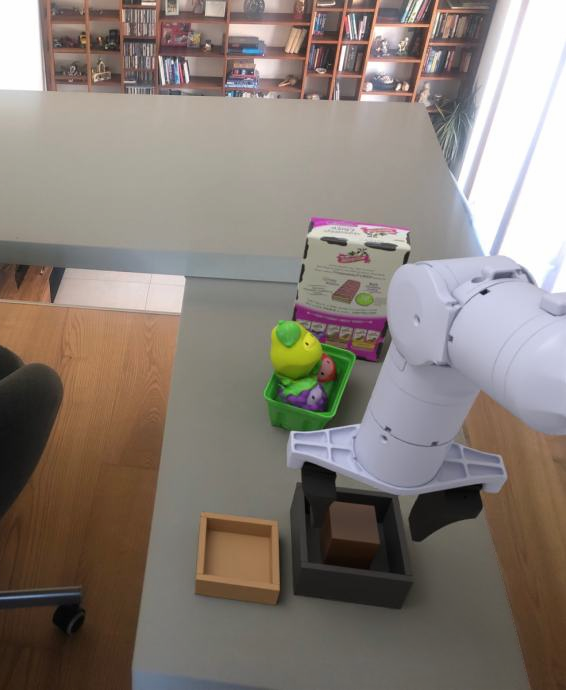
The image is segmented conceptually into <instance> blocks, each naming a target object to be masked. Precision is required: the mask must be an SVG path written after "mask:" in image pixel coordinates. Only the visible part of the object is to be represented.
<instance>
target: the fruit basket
mask: <svg viewBox="0 0 566 690" xmlns="http://www.w3.org/2000/svg"><path fill="white" fill-rule="evenodd" d="M270 341H271V345H270V351H269V355H270V356H269V357H270V362H271V365H272V367H273V369H274V370H273V372H272V374H271V376H270V379H269V380H268V383H267V384H266V387H265V389H264V391H263V397H264V400H265V403H266V405H267V409H268V414H269V419H270V424H271V425H273V426H277V427H281V428H283V429H285V430H287V431H290V432H291V431H300V432H309V431H318V430H324V428H325V427H326V425H327V424H328V422H329V421H331V420H332V419H334V417H335V416H336V413H337V411H338V407H339V404H340V402H341V399H342V396H343V394H344V391H345V388H346V385H347V383H348V381H349V378H350V375H351V372H352V369H353V367H354V365H355V362H356V359H357V358H356V356H355V354H354V353H352V352H350V351H348V350H344V349H341V348H337V347H333V346H330V345H326V344H323V343H320V342H319V341H318V339H317V338H316V337H315V336H314V335H313V334H311V333H310V332H309V331H307V330H306V329H304V328H303V327H302V326H301V325H300V324H299V323H297V322H294V321H291V320H286V321H285V320H284V319H278V321H277V325H275V326H274V328H273V329H272V331H271V333H270Z"/></svg>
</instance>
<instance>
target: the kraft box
mask: <svg viewBox="0 0 566 690" xmlns="http://www.w3.org/2000/svg"><path fill="white" fill-rule="evenodd" d="M198 528H199V529H198V542H197V555H196V568H195V580H194V592H193V593H194V594H195V595H199V596H207V597H213V598H214V597H215V598H220V599H221V598H222V599H227V600H236V601H243V602H251V603H257V604H264V605H271V606H277V604H278V599H279V597H280V591H281V585H280V584H281V579H280V573H281V572H280V537H279V535H280V534H279V521H278V520H273V519H272V520H271V519H263V518H255V517H248V516H240V515H232V514H223V513H216V512H208V511H201V512H200V519H199V527H198Z"/></svg>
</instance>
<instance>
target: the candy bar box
mask: <svg viewBox="0 0 566 690" xmlns="http://www.w3.org/2000/svg"><path fill="white" fill-rule="evenodd" d="M410 234H411V228H410V227H402V226H393V225H385V224H378V223H377V224H376V223H369V222H361V221H352V220H343V219H334V218H326V217H319V216H317V217H316V216H310V219H309V224H308V228H307V232H306V237H305V242H304V247H303V248H304V249H303V254H302V259H301V265H300V271H299V277H298V281H297V288H296V293H295V299H294V302H293V303H294V304H293V309H292V315H291V320H290V321H294V322H297V323H299V324H300V325H301V326H302V327H303V328H304V329H306V330H307V331H309V332H310V333H311V334H313V335H314V336H315V337H316V338H317V339H318V341H319V342H320V343H323V344H326V345H330V346H333V347H337V348H341V349H344V350H348V351H350V352H352V353H354V354H355V356H356V359H360V360H366V361H372V362H378V361H379V358H380V355H381V353H382V349H383V345H384V342H385V339H386V335H387V332H388V330H389V326H388V320H387V294H388V289H389V285H390V282H391V279H392V277H393V275H394V273H395V272H396V271H397V270H398V268H400V267H401V266H402V265H405V264H408V261H409V259H410V255H411V254H410V253H411V250H412V248H411V240H410V239H411V237H410Z"/></svg>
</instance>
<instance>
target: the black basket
mask: <svg viewBox="0 0 566 690" xmlns="http://www.w3.org/2000/svg"><path fill="white" fill-rule="evenodd" d="M336 494H337V500H336V502H344V503H352V504H361V505H369V506H374V508H375V514H376V521H377V527H378V534H379V540H380V545H379V547H378V550H377V552H376V555H375V557H374V560H373V562H372V564H371V567H370V569H369V570H362V569H355V568H347V567H339V566H332V565H324V564H321V551H320V538H319V531H320V529H318V528H312V527H311V518H310V503H309V501H308V500H307V498H306V497H305V496H304V493H303V489H302V481H300V482H299V481H297V482H296V485H295V489H294V493H293V497H292V501H291V505H290V509H289V518H290V519H289V521H290V544H291V545H290V546H291V568H292V569H291V570H292V571H291V573H292V594H293V596H300V597H308V598H314V599H315V598H316V599H322V600H323V599H324V600H330V601H337V602H344V603H352V604H357V605H358V604H359V605H365V606H374V607H381V608H388V609H394V610H401V609H402V607H403V606H404V603H405V601H406V599H407V598H408V595H409V593H410V591H411V589H412V587H413V585H414V584H415V579H414V574H413V569H412V563H411V559H410V553H409V547H408V542H407V536H406V531H405V526H404V520H403V515H402V514H403V513H402V509H401V503H400V499H399V495H395V494H390V493H387V492H384V491H380V490H379V491H378V490H371V489H361V488H352V487H343V486H336Z"/></svg>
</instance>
